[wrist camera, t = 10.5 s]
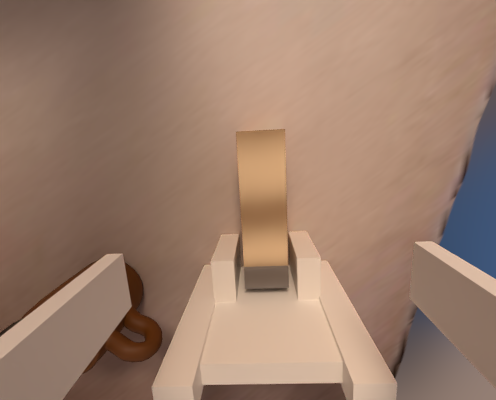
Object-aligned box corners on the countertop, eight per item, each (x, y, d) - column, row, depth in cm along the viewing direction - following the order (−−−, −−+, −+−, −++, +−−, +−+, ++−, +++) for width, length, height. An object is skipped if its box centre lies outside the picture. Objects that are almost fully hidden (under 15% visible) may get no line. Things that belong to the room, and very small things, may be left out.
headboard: (201, 235, 31) (143, 333, 15) (327, 230, 30) (401, 326, 15) (206, 283, 32) (156, 420, 16) (326, 279, 31) (394, 418, 16)
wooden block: (240, 133, 28) (235, 131, 22) (279, 131, 28) (285, 128, 22) (247, 259, 31) (245, 289, 25) (282, 258, 31) (288, 287, 25)
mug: (187, 274, 32) (158, 329, 23) (174, 329, 34) (143, 400, 24) (86, 249, 32) (16, 293, 23) (79, 305, 33) (11, 368, 24)
